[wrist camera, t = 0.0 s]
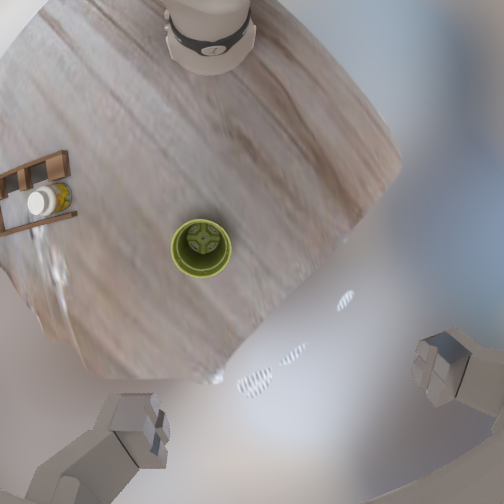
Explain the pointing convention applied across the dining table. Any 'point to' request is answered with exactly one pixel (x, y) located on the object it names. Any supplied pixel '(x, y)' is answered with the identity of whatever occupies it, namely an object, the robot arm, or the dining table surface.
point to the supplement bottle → (49, 199)
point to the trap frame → (32, 173)
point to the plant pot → (201, 248)
